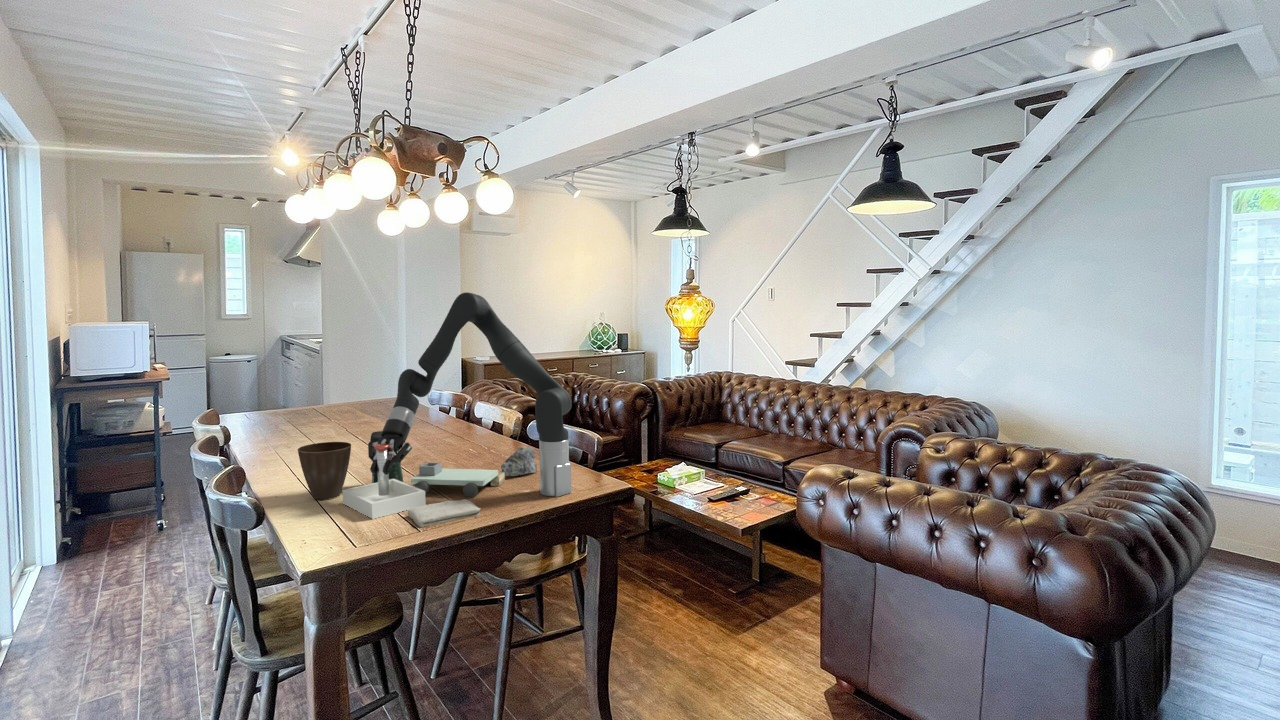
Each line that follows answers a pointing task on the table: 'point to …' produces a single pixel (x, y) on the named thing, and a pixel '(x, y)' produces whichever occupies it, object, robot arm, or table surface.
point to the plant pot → (325, 467)
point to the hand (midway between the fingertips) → (379, 472)
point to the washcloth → (443, 512)
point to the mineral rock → (520, 462)
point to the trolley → (452, 477)
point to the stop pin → (381, 461)
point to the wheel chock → (498, 479)
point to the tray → (384, 499)
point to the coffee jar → (396, 468)
